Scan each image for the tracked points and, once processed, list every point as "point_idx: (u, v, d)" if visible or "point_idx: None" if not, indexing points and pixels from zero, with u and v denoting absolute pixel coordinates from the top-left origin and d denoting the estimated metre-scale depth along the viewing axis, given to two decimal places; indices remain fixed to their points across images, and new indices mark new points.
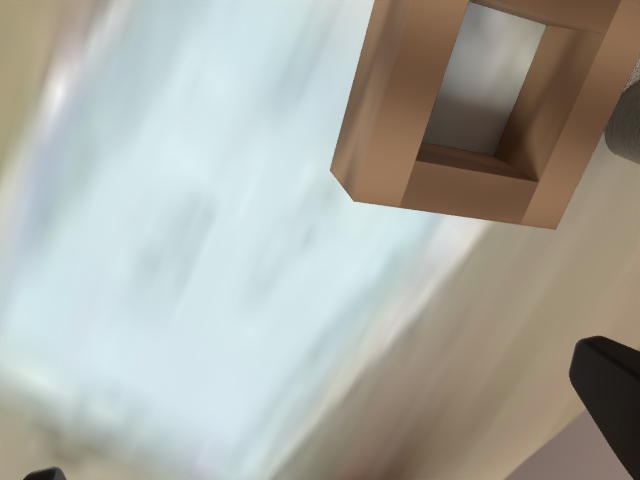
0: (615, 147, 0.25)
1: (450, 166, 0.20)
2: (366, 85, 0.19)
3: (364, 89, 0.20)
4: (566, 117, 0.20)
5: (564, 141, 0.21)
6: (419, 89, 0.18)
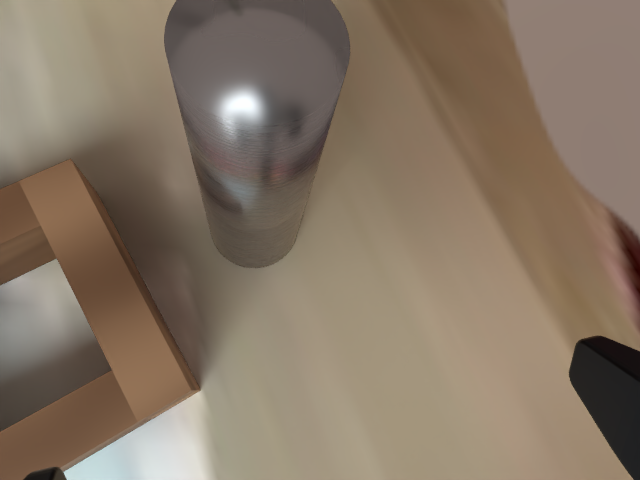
0: (247, 263, 0.22)
1: None
2: None
3: None
4: (78, 300, 0.18)
5: (97, 318, 0.18)
6: None
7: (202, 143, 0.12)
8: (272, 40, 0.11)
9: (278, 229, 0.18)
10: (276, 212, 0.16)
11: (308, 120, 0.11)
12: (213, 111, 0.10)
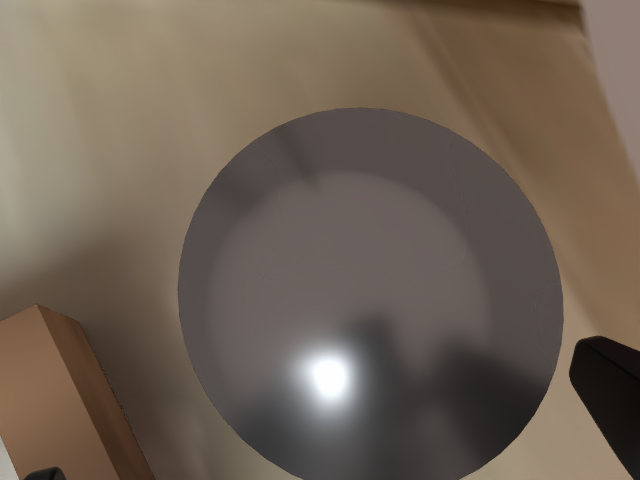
0: None
1: None
2: None
3: None
4: None
5: None
6: None
7: None
8: (406, 279, 0.05)
9: None
10: None
11: (483, 450, 0.05)
12: (291, 473, 0.05)
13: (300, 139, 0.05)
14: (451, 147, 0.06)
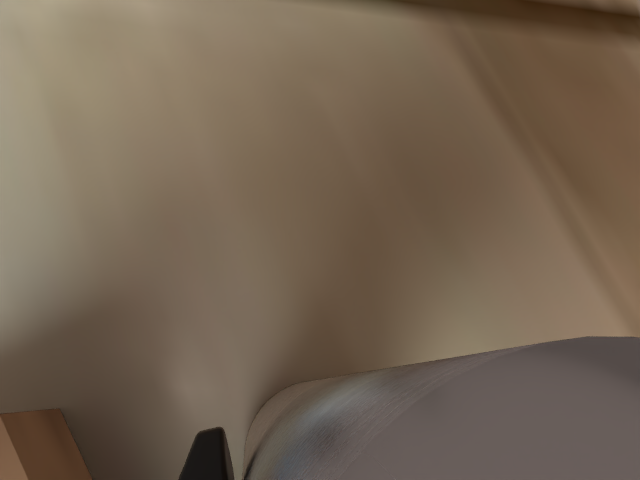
0: None
1: None
2: None
3: None
4: None
5: None
6: None
7: None
8: None
9: None
10: None
11: None
12: None
13: (472, 428, 0.02)
14: None
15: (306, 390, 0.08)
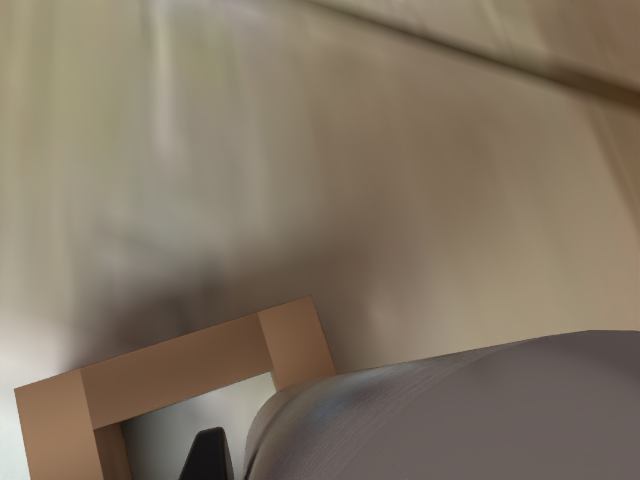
0: None
1: None
2: None
3: None
4: None
5: None
6: None
7: None
8: None
9: None
10: None
11: None
12: None
13: (474, 420, 0.02)
14: None
15: (307, 388, 0.08)
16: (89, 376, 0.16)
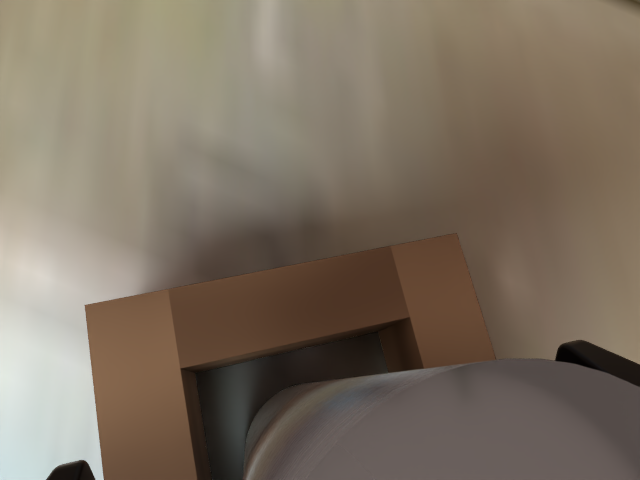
0: None
1: None
2: None
3: None
4: None
5: None
6: None
7: None
8: None
9: None
10: None
11: None
12: None
13: (416, 426, 0.03)
14: None
15: (301, 393, 0.09)
16: (179, 300, 0.13)
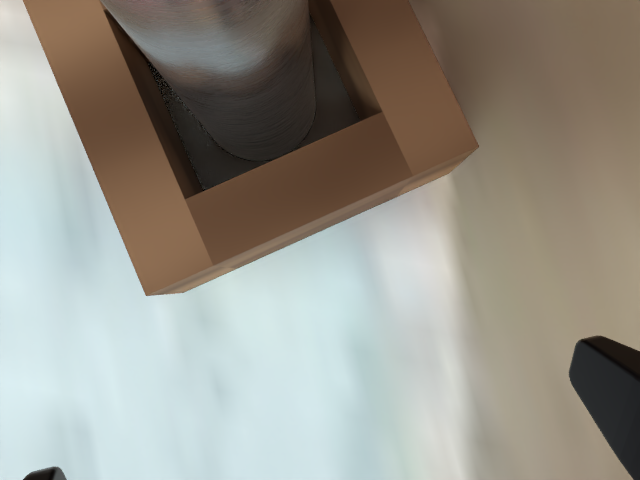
0: (260, 155, 0.17)
1: (240, 176, 0.14)
2: None
3: None
4: (340, 25, 0.14)
5: (365, 47, 0.14)
6: (124, 127, 0.14)
7: None
8: None
9: (278, 94, 0.12)
10: (260, 63, 0.10)
11: None
12: None
13: None
14: None
15: None
16: None
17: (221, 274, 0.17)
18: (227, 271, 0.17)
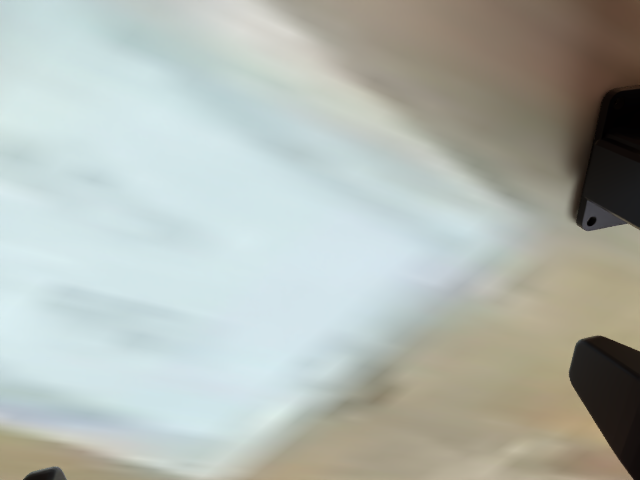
0: None
1: None
2: None
3: None
4: None
5: None
6: None
7: None
8: None
9: None
10: None
11: None
12: None
13: None
14: None
15: None
16: None
17: None
18: None
